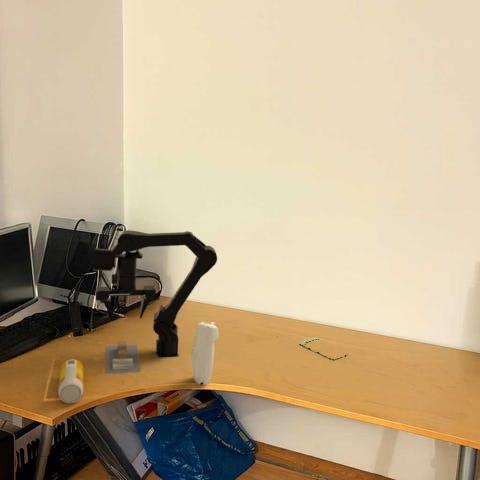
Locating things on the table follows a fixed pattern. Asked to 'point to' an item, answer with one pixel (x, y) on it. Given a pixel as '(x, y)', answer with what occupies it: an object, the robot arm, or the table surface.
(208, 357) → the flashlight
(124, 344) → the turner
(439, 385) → the table surface
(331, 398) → the table surface
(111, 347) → the tool mat
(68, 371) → the yellow cylindrical bottle
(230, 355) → the table surface
